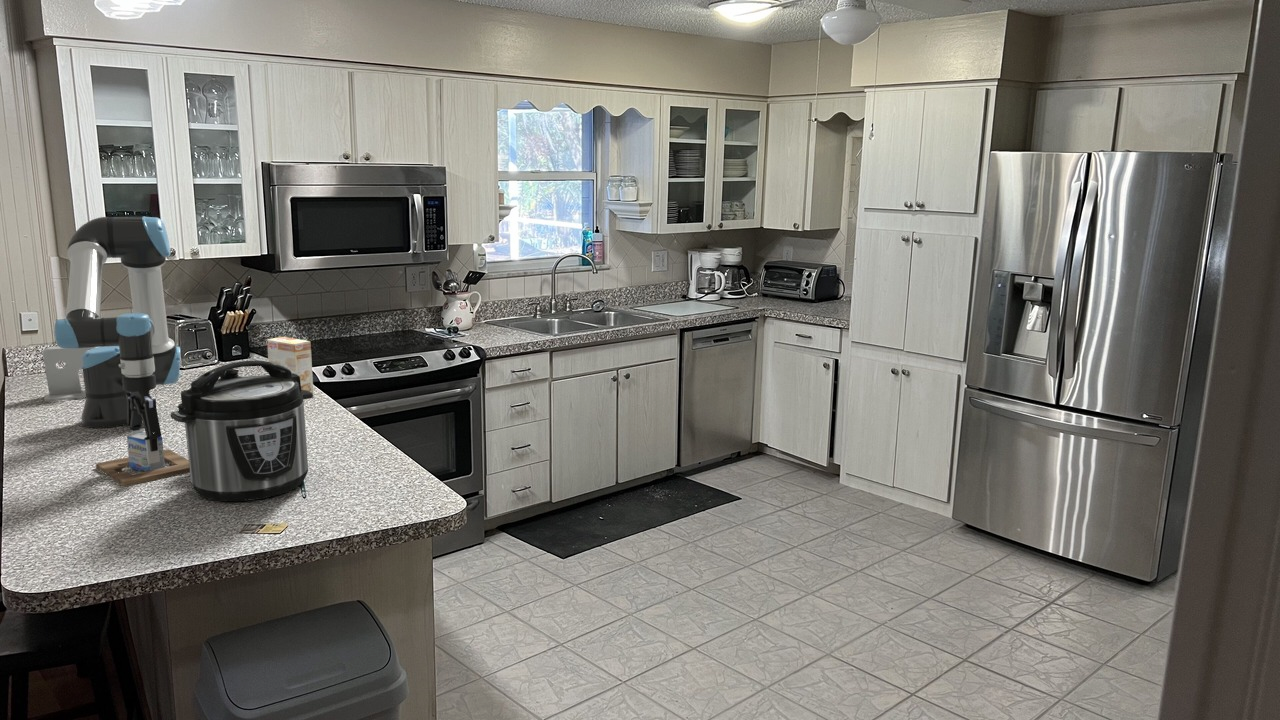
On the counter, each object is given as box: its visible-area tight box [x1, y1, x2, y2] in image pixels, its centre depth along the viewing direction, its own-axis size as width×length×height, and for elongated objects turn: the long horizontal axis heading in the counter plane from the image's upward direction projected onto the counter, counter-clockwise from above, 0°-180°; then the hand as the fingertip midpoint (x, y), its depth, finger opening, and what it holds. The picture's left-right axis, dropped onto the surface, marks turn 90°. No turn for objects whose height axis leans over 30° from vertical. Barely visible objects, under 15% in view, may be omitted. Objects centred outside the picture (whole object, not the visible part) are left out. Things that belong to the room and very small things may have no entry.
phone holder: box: [42, 345, 98, 402], centre depth 308 cm, size 17×10×18 cm, turn 117°
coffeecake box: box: [266, 336, 315, 397], centre depth 314 cm, size 15×7×20 cm, turn 58°
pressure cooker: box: [170, 360, 314, 502], centre depth 222 cm, size 30×28×32 cm
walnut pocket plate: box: [95, 448, 190, 487], centre depth 237 cm, size 20×18×1 cm
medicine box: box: [126, 432, 166, 472], centre depth 236 cm, size 8×4×9 cm, turn 68°
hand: (146, 458), depth 236 cm, fingers open, 9 cm apart
